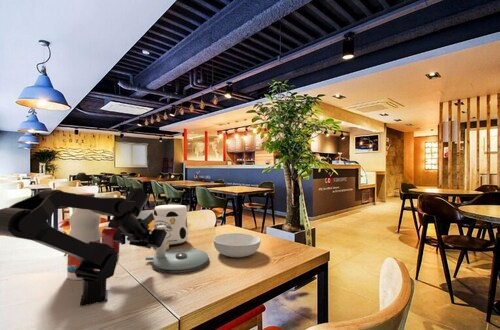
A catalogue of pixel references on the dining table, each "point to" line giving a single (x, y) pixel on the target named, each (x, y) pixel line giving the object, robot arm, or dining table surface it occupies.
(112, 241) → the soda can
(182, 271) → the pivot base
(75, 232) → the fruit juice
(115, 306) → the dining table surface
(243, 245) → the serving bowl
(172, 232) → the milk container
